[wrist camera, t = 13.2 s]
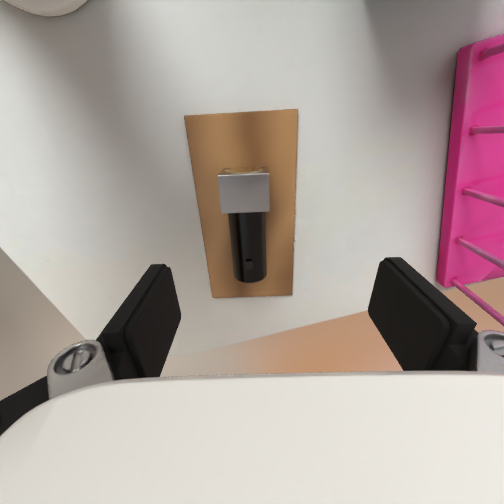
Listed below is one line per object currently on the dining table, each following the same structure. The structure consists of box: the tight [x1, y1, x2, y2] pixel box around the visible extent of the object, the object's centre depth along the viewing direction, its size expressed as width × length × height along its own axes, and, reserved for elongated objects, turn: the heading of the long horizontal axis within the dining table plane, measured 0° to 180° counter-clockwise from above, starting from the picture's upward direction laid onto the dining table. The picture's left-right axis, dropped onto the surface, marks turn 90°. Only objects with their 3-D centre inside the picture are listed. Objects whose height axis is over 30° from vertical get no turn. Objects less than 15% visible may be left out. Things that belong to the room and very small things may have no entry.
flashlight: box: [217, 166, 270, 283], centre depth 26 cm, size 13×5×5 cm, turn 3°
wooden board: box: [184, 109, 298, 298], centre depth 28 cm, size 11×22×1 cm, turn 3°
